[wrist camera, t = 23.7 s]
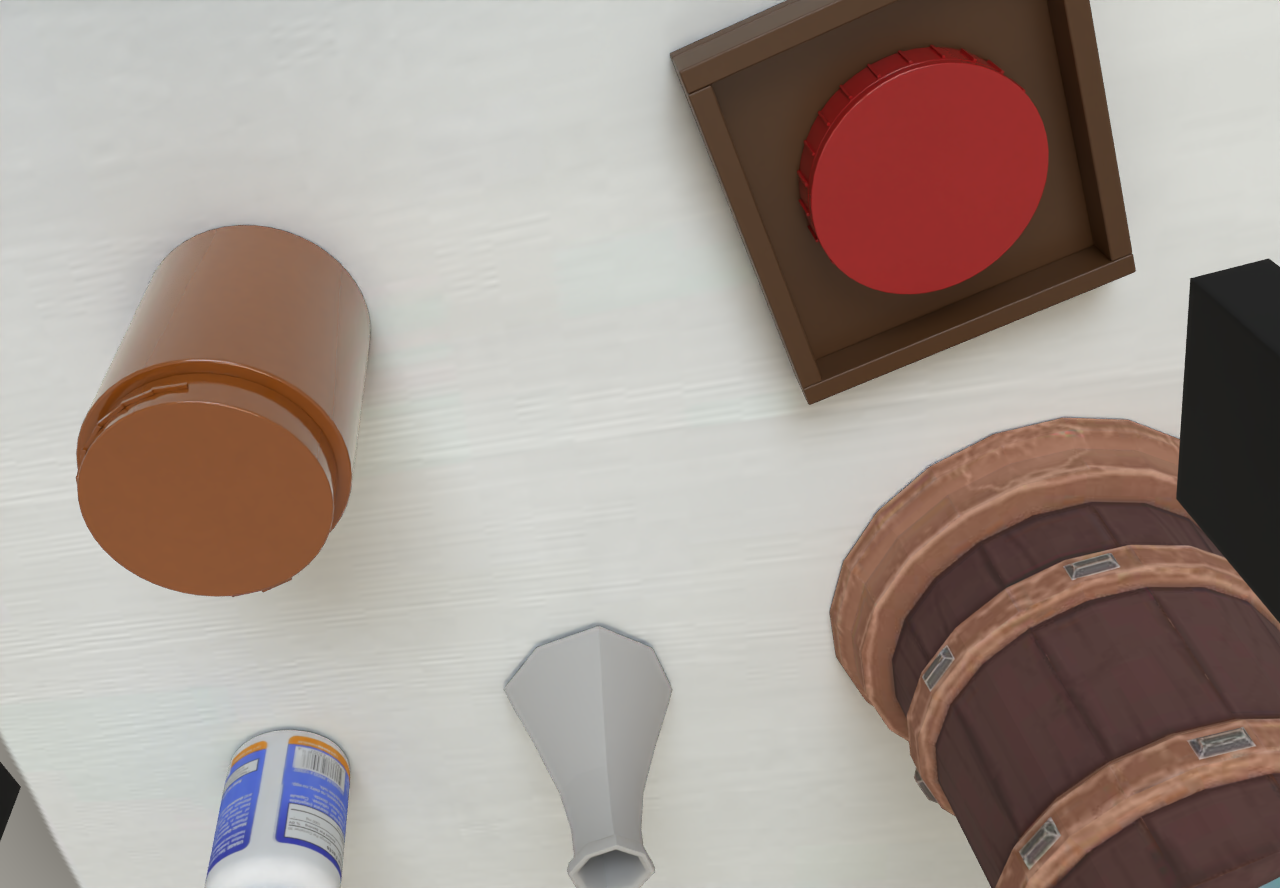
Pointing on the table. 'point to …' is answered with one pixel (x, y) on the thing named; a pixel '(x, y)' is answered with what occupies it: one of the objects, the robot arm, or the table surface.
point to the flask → (596, 744)
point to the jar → (228, 415)
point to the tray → (783, 116)
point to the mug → (1072, 663)
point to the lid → (923, 170)
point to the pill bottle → (282, 814)
